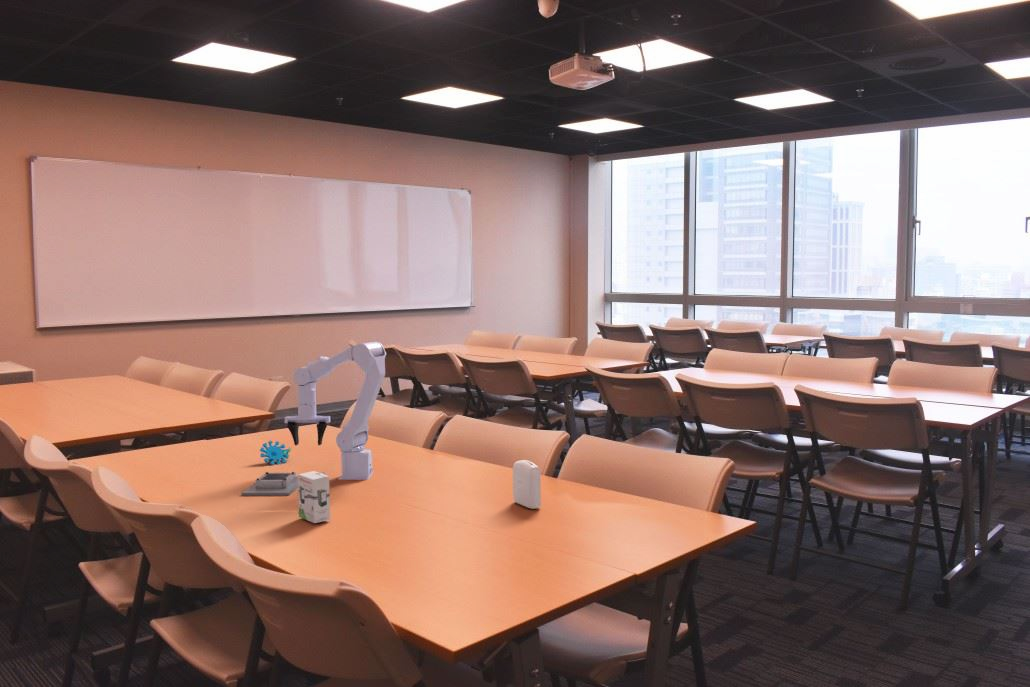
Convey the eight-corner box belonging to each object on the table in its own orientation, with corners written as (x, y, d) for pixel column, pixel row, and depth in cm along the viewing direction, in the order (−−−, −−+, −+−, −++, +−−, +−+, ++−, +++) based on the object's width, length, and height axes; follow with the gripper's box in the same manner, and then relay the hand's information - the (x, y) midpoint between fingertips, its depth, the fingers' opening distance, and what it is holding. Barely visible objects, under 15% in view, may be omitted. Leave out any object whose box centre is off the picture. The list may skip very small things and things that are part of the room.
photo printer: (511, 501, 232) (510, 458, 231) (524, 499, 234) (523, 456, 233) (529, 510, 223) (529, 465, 222) (543, 508, 225) (542, 463, 224)
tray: (308, 479, 261) (307, 467, 260) (288, 495, 241) (288, 483, 241) (264, 479, 261) (264, 467, 261) (241, 495, 241) (241, 483, 241)
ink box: (297, 517, 219) (296, 473, 218) (314, 513, 222) (313, 470, 221) (314, 523, 213) (313, 478, 212) (331, 519, 216) (330, 475, 215)
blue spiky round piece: (266, 465, 276) (257, 441, 280) (261, 475, 279) (252, 451, 284) (296, 460, 283) (287, 437, 287) (291, 470, 286) (282, 446, 291)
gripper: (332, 401, 271) (333, 442, 272) (288, 401, 271) (290, 442, 272) (326, 404, 264) (327, 446, 265) (281, 404, 264) (283, 446, 265)
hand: (308, 444), depth 268 cm, fingers open, 7 cm apart
